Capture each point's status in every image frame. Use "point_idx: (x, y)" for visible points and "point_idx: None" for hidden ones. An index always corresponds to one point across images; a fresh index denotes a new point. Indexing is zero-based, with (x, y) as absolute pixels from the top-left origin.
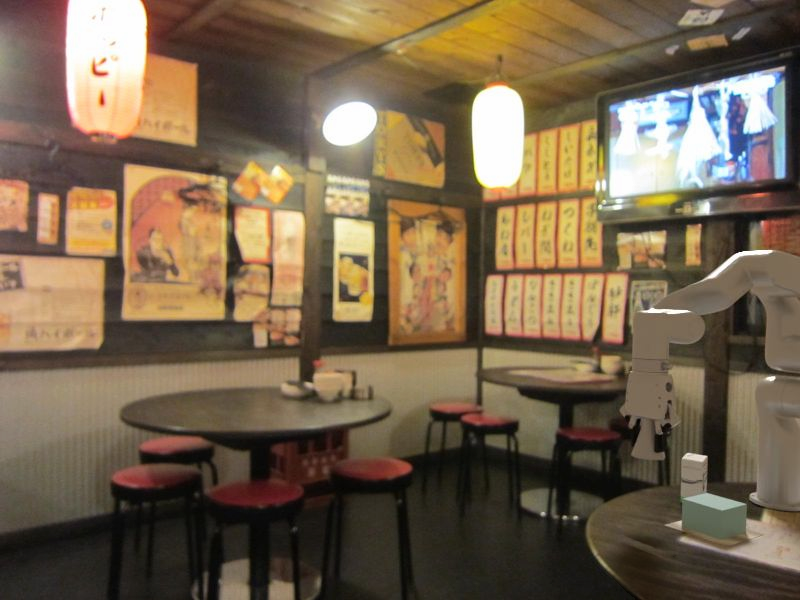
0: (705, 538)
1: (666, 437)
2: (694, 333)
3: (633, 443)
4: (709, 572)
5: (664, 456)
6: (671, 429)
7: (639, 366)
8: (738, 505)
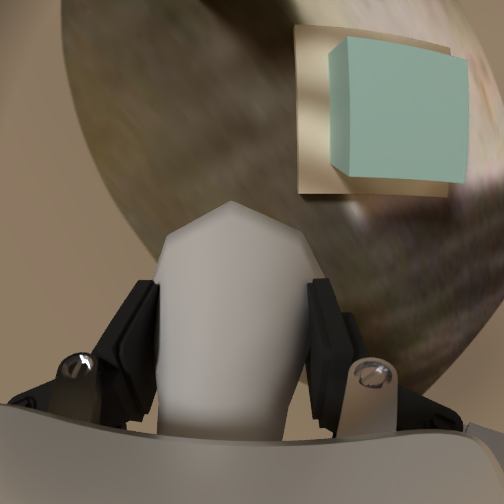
0: (405, 191)
1: (366, 355)
2: None
3: None
4: (449, 302)
5: (308, 252)
6: (426, 400)
7: None
8: (464, 92)
